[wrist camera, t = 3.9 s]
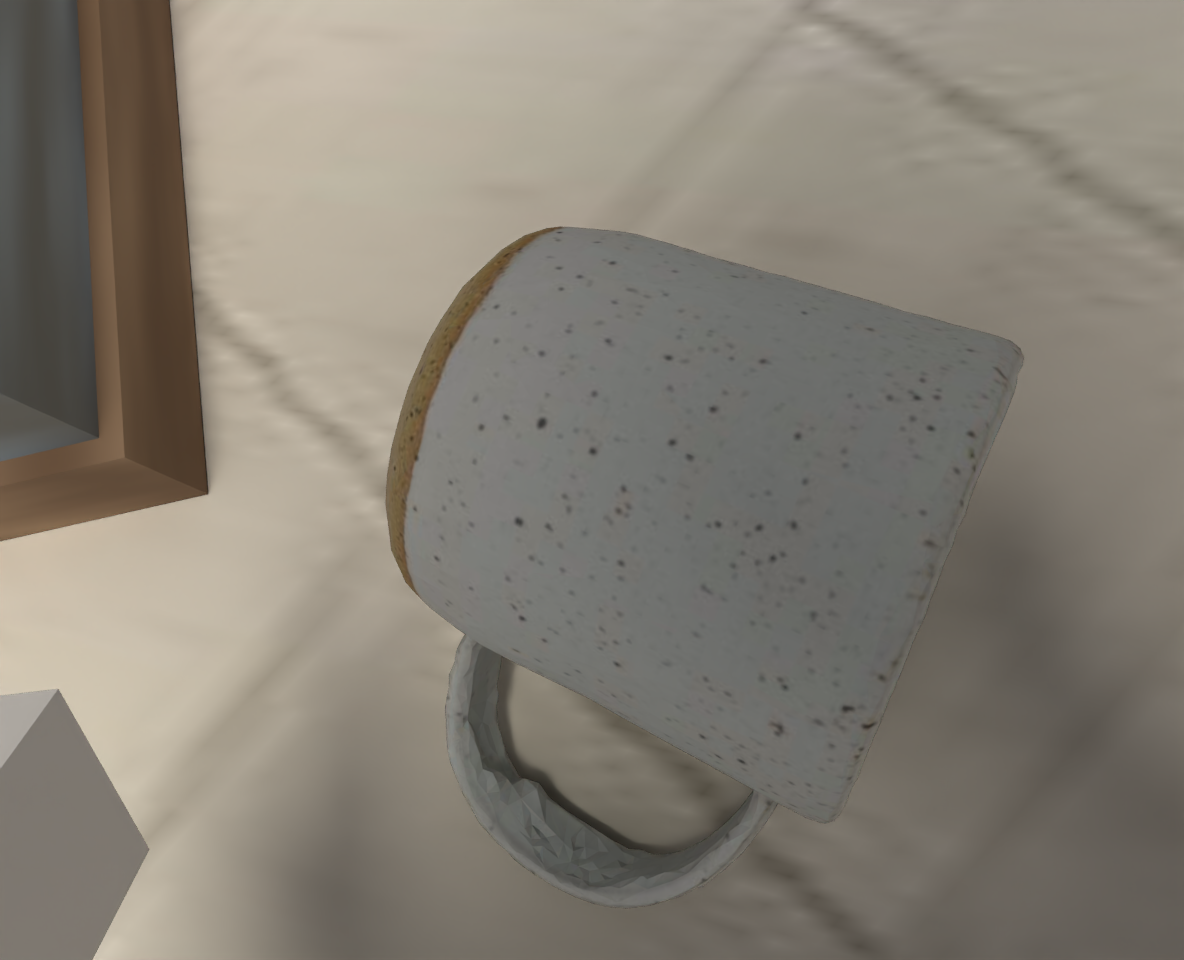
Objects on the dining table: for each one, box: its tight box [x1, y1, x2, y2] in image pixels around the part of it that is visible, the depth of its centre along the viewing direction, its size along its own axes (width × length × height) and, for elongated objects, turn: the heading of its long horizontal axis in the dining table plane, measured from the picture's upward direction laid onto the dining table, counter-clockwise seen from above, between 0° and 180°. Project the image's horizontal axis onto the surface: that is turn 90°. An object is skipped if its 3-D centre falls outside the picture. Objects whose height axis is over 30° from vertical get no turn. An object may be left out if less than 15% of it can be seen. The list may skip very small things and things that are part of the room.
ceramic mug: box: [386, 227, 1024, 908], centre depth 17 cm, size 11×8×8 cm
